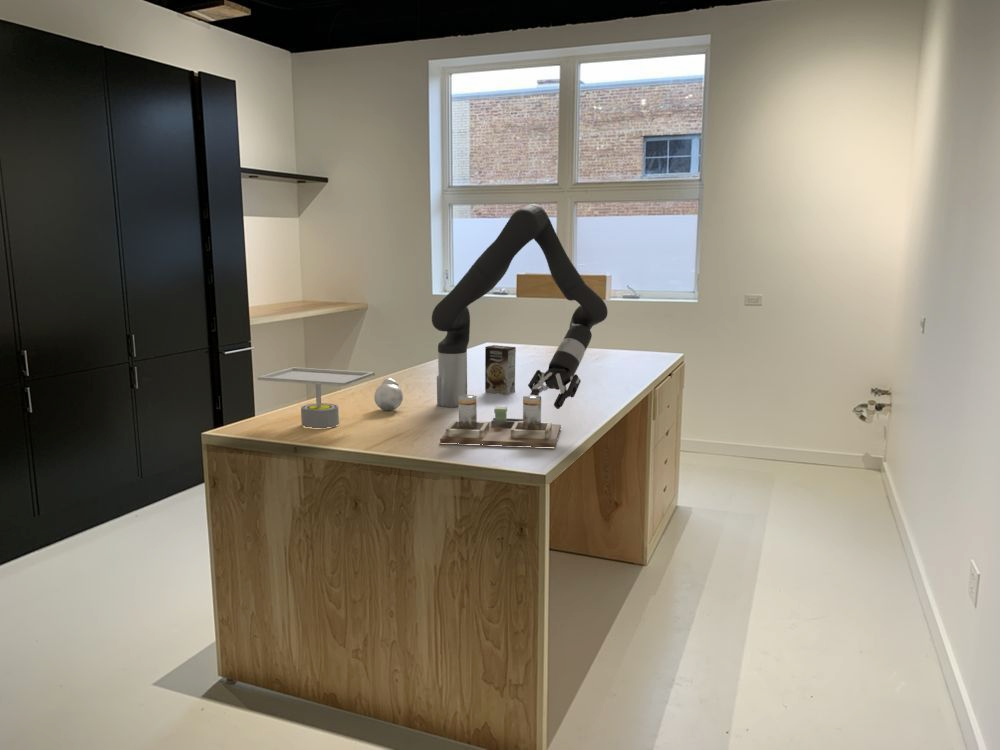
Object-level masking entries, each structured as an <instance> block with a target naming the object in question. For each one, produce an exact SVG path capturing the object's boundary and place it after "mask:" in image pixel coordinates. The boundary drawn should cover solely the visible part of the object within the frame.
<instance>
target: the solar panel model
mask: <svg viewBox="0 0 1000 750" xmlns="http://www.w3.org/2000/svg"><path fill="white" fill-rule="evenodd" d="M375 375H376V373H375V372H374V371H359V370H358V371H357V370H343V369H330V368H329V369H327V368H313V367H312V368H309V367H295V366H292V367H289V368H285V369H282V370H277V371H274V372H270V373H267V374H263V375H259V376H257V378H256V379H257V381H261V382H262V381H264V382H265V381H266V382H278V383H291V384H292V383H295V384H307V385H315V403H308V404H304V405H302V406H300V413H301V417H300V418H301V426H302V425H303V426H305V427H312V428H327V427H333V426H336V425H338V424H339V425H340V418H339V417H340V416H339V415H340V414H339V405H337V404H334V403H328V402H327V403H324V402H323V403H322V388H321V386H322V385H323V386H335V387H346V386H348V385H351V384H353V383H357V382H359V381H362V380H366V379H367V378H370V377H375Z"/></svg>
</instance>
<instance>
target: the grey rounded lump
mask: <svg viewBox="0 0 1000 750" xmlns="http://www.w3.org/2000/svg"><path fill="white" fill-rule="evenodd" d="M373 398H374V403H375V405H376V406H377V407H378V408H380V410H382V411H388V412H391V411H394V410H396V409H398V408H399V407H400V406H401V404H402V402H403V399H404V394H403V391H402V389H401V388H400V386H399V382H398V381H396V380H395V379H392V378H391V377H387V378H385V379H383V380H382V382H381V384H380V385H379V386H377V388H376V389H375V392H374V397H373Z"/></svg>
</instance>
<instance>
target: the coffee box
mask: <svg viewBox="0 0 1000 750" xmlns="http://www.w3.org/2000/svg"><path fill="white" fill-rule="evenodd" d="M516 349H517V348H516V346H508V345H497V344H493V345H487V346H485V350H484V351H485V352H484V353H485V354H484V355H485V357H484V359H485V362H484V363H485V364H484V366H485V367H484V372H485V373H484V374H485V375H484V381H485V382H484V384H485V385H484V386H485V387H484V391H485V393H487V394H488V393H490V394H497V393H499V394H498V395H505V394H508V395H510V393H511V394H513V393H516V353H517V352H516V351H517V350H516ZM512 392H513V393H512Z"/></svg>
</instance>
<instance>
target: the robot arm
mask: <svg viewBox="0 0 1000 750" xmlns="http://www.w3.org/2000/svg"><path fill="white" fill-rule="evenodd" d="M533 240H534V241H535V242H536V244H537V245H539V247H540V250H541V251H542V254H543V255H544V257H545V261H546V263H547V266H548V268H549V269H548V270H549V272H550V275H551V277H552V279H553V281H554V283H555V284H556V285H557V287H558V289H559V291H560V292H561V293H562V295H563V296H564V298H565V299H566V300H568V301H569V302H570V301H574V302H575V301H576V303H577V304H579V306H577V308H576V309H575V310H574V312H573V314H572V316H571V319H570V323H569V327H568V330H567V332H566V333H565V335H564V337H563V339H562V341H561V342H560V343H559V345H558V346H557V349H556V351H555V353H554V354H553V356H552V358H551V360H550V361H549V364H548V369H547V370H546V371H545V372H542V371H541V369H537V370H536V372H535V373H534V374H533V376H532V378H531V379H530V380H529V381H530V382H529V383H528V384H527V387H528V388H529V389H530V391H531V392H530V394H529V395H538V396H540V395H539V394H541V393H542V392H543V391H544V392H546V391H547V390H553V389H554V390H557V391H559V392H560V393H558V395H557V397H556V399H555V401H554V403H553V406H554V408H556V410H560V409H561V408H562V407H563V405H564V403H565V401H566V399H568V398H574V397H575V396H576V393H577V391H578V389H579V386H580V384H581V381H582V380H581V378H580V377H579V376H578V374H576V372H577V370H578V368H579V366H580V364H581V363H582V361H583V359H584V355H585V353H586V351H587V348H588V346H589V344H590V342H591V340H592V338H593V337H592V335H593V334H592V331H591V330H592V328H593V327H594V326H596V325H598V324H600V323H602V322H604V321H605V320H606V319H607V317H608V313H609V312H608V307H607V304H606V302H605V301H604V300H603V299H602V297H601V296H600V295H598V293H597V292H595V291H594V289H592V288H591V287H590V286H588V284H587V283H586V282H585V281H584V279H583V278H582V277H583V276H581V275H580V273H579V271H578V270H577V268H576V267H575V266H574V263H572V261H571V259H570V258H569V256H568V254H567V252H566V250H565V248H564V247H563V245H562V243H561V241H560V238H559V236H558V234H557V233H556V230H555V228H554V227H553V223H552V221H551V219H550V218H549V215H548V214H547V212H546V210H545V209H544V208H543V207H542V205H539V204H537V203H530V204H526V205H525V206H523V207H521V208H519V209H517V210H516V211H514V212H513V213H512V215H511V216H510V217H509V219H508V221H507V222H506V224H505V225H504V227H503V228H502V229H501V232H500V233H499V235H498V236H497V237H496V239H495V240H494V241H493V242H492V243H491V244H490V245H489V246H488V247H487V248H486V249H485V250H484V251H483V252H482V253H481V255H479V257H478V258H477V259H476V260H475V262H473V264H472V265H471V266H470V267H469V269H468V271H466V273H465V274H464V275H463V277H461V279H460V280H459V281H458V283H457V284H456V285H455V286H454V287H453V289H451V291H449V293H448V294H447V295H446V296H444V297H443V298H442V299H441V300H440V301H439V302H438V303H437V304H436V306H435V307H434V308H433V310H432V313H431V323H432V325H433V327H434V328H435V329H436V330H438V331H440V332H446V335H445V336H444V338H443V339H442V340H441V341H439V342H438V345H437V361H438V362H437V364H438V365H437V366H438V367H437V368H438V369H437V370H438V371H437V372H438V375H437V376H436V404H437V405H436V406H438V405H441V406H440V407H444V406H445V408H459V396H460V395H468V353H467V352H468V351H467V350H468V347H469V346H468V345H469V342H470V335H471V334H470V331H471V330H470V329H471V315H470V310H469V308H468V307H469V306H470V305H471V304H473V303H474V302H476V301H477V300H479V299H481V298H482V297H484V296H485V295H486V294H488V293H489V292H490V291H492V290H493V289H494V288H495V287H496V286H497V284H499V282H500V281H501V280H502V278H503V277H504V276H505V274H506V273H507V272H508V270H509V267H510V265H511V263H512V261H513V259H514V258H515V257H516V255H518V253H519V252H521V250H522V249H523V248H524V247H525V246H526V245H528V244H529V243H530V242H531V241H533ZM568 384H569V385H568ZM567 385H568V387H567Z"/></svg>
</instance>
